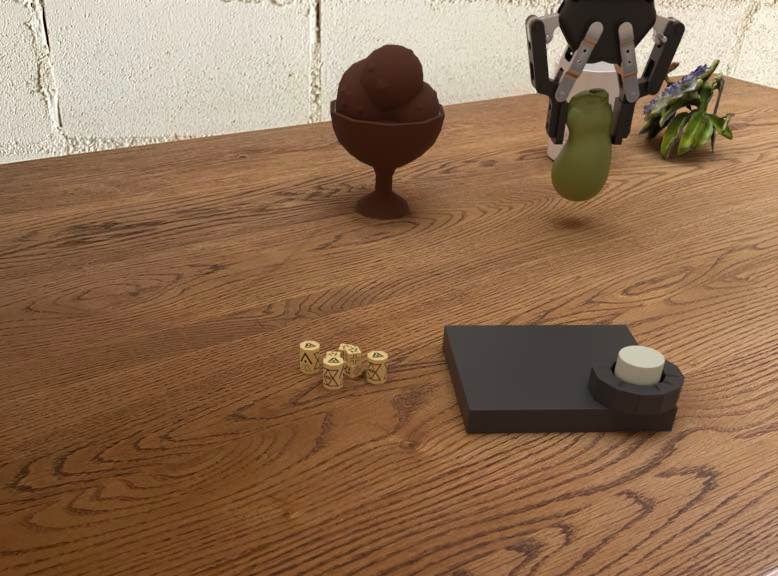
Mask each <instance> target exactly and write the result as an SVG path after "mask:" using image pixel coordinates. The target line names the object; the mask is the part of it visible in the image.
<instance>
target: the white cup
mask: <svg viewBox="0 0 778 576" xmlns="http://www.w3.org/2000/svg"><path fill="white" fill-rule="evenodd" d="M561 57H562V55H561V56H558V57H556V58H555V59H554V60H555V61H554V69H553V77H552V79H553V78H554V76H555V74H556V72H557V70H558V67H559V62H560V59H561ZM579 61H580V60H579ZM579 61H578V62H579ZM594 88H602V89H604V90H606V91H607V92H608V93H609V104H612V111H613V108H614V102H615V97H619V87H618V81H617V74H616V70H615V68H614V64H609V63H606V62H603V61H601V62H598V63H594V64H586V65H585V67H584V69H583V71H582V73H581V75H580V76H579V77H578V78H577V79H576V81H575V83H574V85H573V87H572V89H571V91H570V94H569V96H568V98H567V99H566V100H567V102H568V103H569V102H570V100H571V98H572V96H574V95H576V94H578V93H579V92H581V91H584V90H588V91H589V89H594ZM568 137H569V130H568V127H567V125H565V132H564V139H563V144H562V145H554V144H553V142H552V141H551V138H550V137H549V136H548V143H547V151H546V156H547V157H549V159H551V160H552V161H555V159H556V157H557V156H558V154H559V153H560V151H561V149H562V148H563V146H564V144H565V143H566V141H567V139H568Z"/></svg>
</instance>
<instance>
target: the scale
mask: <svg viewBox="0 0 778 576" xmlns="http://www.w3.org/2000/svg"><path fill="white" fill-rule="evenodd" d="M627 346H640V345H639V343H638V341H637V340H636V338H635V337H634V335H633V334H632V332H631V330H630V329H629V327H628V326H627V324H455V325H454V324H451V325H450V324H446V325H444V326H443V336H442V352H443V355H444V358H445V361H446V366H447V369H448V373H449V376H450V379H451V383H452V386H453V390H454V394H455V397H456V400H457V403H458V407H459V411H460V414H461V418H462V422H463V424H464V428H465V431H466V434H467V435H473V434H474V435H482V434H486V435H488V434H557V433H558V434H562V433H564V434H565V433H569V434H571V433H632V432H634V433H635V432H638V433H639V432H641V433H642V432H644V433H645V432H647V433H648V432H672V430H673V427H674V423H675V419H676V416H677V412H678V409H679V407H678V405H677V404H678V401H679V399H680V396H681V393H682V390H683V385H684V382H685V378H686V377H685V375H684V374H683V372H682V370H681V369H680V367H678V365H676V364H675V363H673V362H672V361H669V360H668V359H666V358H665V363H664V367H663V370H662V374H661V378H660V381H659V383H658V384H656V385H640V386H639V385H635V384H631V383H627V382H624V381H623V380H621V379H619V378H618V377H616V376H615V374H614V371H615V367H616V363H617V358H618V354H619V351H620V350H621V349H622V348H624V347H627Z"/></svg>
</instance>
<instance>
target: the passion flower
mask: <svg viewBox="0 0 778 576" xmlns="http://www.w3.org/2000/svg"><path fill="white" fill-rule="evenodd" d="M720 62H721V60H720V59H714V60H713V62H712V63H711V65H710V66H709V67H708V66H707V63H705V64H703V65H702V64H700V65H698V66H697V67H696V69H694V70H692V71H691V72H689V73H688V74H685V75H683V76H682V78H681V79H679V78H678V79H677V81H672V80H671V79H670V77H669V74H670V73H672V72H673V71H674V70H676V69H677V68H678V67H680V61H677V62H676V61H672V63H671V65H670V67H669V70H668V72H667V74H666V77H665V79H664V82H665V83H666V87H664V89H663V90H662V92H661V93H660V94H656V97H655V98H652V99H651V100H650V101H649V102H648V103H647V104H645V105H644V106H643V107H642V108H643V110H642V111H641V113H642V114H641V115H640V116H644V122H645V124H643V126H641V128H640V130H638V134H639V135H644V138H645V139H646V140H648V141H651V140H653V139H655V138H656V137H657V136H658V135H659V133H660V132H661V131H663V130H664V129H665V131H664V133H663V136H662V140H661V143H660V154H661V156H662V157H664V161H667V160H668V159H669V155H670V152H671V150H672V149H673V148H674V146H675V145H676V143H677V142H678V141H679V143H678V148H677V155H678V156H681V155H683V154H685V153H687V152H689V151H690V150H693V151H698V150H699V149H701V148H702V147H704V146H705V145H706V144H707V143H709V141H710V147H711V153H712V154H714V150H715V142H716V137H717V133H718V134H719V135H720V136H722V137H723V138H726V139H727V140H729V141H732V140H733V137H734V136H733V131H732V130H731V128H730V125H729V123H730V121H731V119H732V118H733V117H735V116H736V115H735V113H734V112H732V113H731V112H726V114H725V115H724V116H719V115H718V109H719V105H720V101H721V97H722V95H723V91H724V89H725V88H724V87H725V83H726V80H725V79H724V77H723V76H724V73H723V72H722V71H720V72H719V73H718V74H717V75H716V76H714V77H713V78H714V79H713V80H712V82H708V80H709V79H710V78H711V77H712V75H713V74H714V73H715V71H716V70H717V68H718V66H719V65H720ZM715 90H717V91H718V95H717V97H716V101H715V104H714V108H713V112H712V113H708V112H707V110H708V106H709V104H710V102H711V101H712V99H713V97H714V91H715ZM692 106H694V107H696V108H692ZM684 107H685V108H686V109H687V110H689V111H681V112H679V113H677V111H679V110H681V109H682V108H684ZM684 128H685V130H684ZM683 130H684V132H683ZM682 132H683V133H682ZM681 133H682V134H681ZM680 135H681V136H680ZM679 138H680V140H679Z"/></svg>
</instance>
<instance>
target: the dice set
mask: <svg viewBox="0 0 778 576" xmlns="http://www.w3.org/2000/svg"><path fill="white" fill-rule="evenodd" d="M320 347H321V344H320V343H319V342H317V341H315V340H305V341H302V342H300V344H299V371H300V372H301V373H303V374H306V375H314V374H316V373H319V372H320V370H321V369H320V368H321V363H320V362H321V359H320V358H321V353H320V352H321V348H320ZM366 356H367V357H366V381H367V383H369V384H372V385H383V384H384V383H386V382H387V381H388V363H389V356H388V354H387V352H385V351H382V350H372V351H370V352H368V353H367V355H366ZM344 375H345V376H347V377H348V378H350V379H354V378H357V377H360V376H362V375H363V362H362V351H361V349H360V348H359V346H358V345H357V346H355V345H354V344H348V343H340V345H339V347H338V349H337V351H326V357H323V359H322V384H323V388H325V389H327V390H330V391H331V390H332V391H334V390H335V391H337V390H340V389H342V388H343V387H344Z"/></svg>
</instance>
